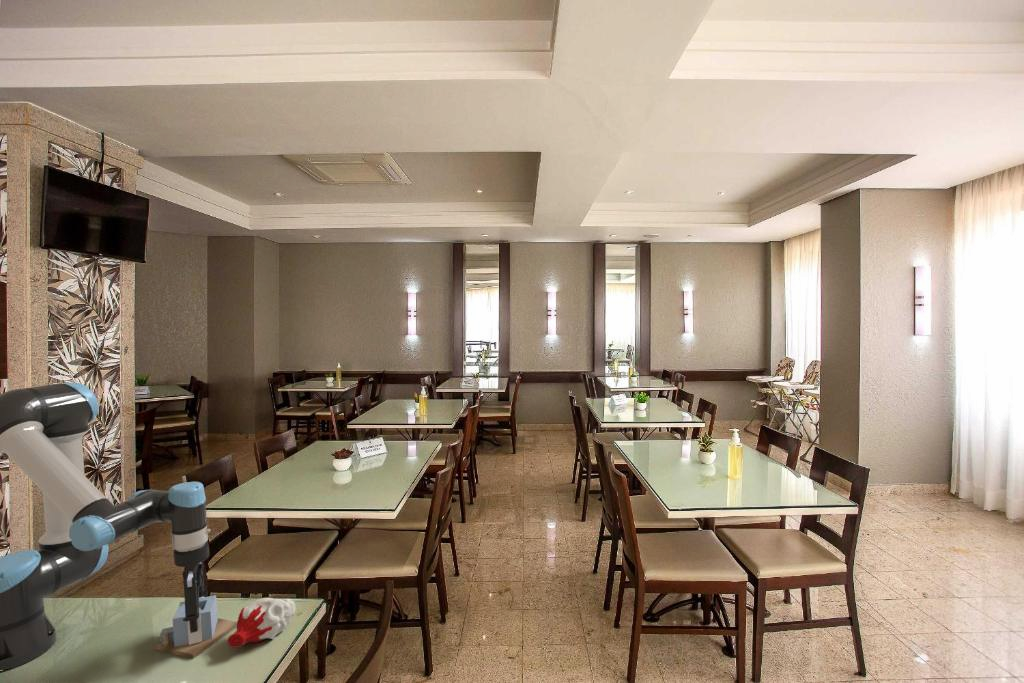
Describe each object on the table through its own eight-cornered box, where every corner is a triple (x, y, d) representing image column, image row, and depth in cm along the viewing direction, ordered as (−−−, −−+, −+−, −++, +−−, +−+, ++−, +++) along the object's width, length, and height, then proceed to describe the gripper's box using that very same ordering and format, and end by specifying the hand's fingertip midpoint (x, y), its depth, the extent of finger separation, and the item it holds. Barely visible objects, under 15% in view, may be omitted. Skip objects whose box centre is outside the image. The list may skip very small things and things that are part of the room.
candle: (300, 621, 133) (255, 666, 119) (266, 614, 137) (218, 656, 123) (295, 590, 131) (249, 632, 117) (261, 584, 135) (212, 623, 121)
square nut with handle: (217, 620, 134) (215, 595, 133) (212, 638, 126) (210, 611, 126) (166, 632, 129) (164, 605, 129) (157, 651, 122) (155, 623, 122)
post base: (153, 649, 124) (151, 621, 124) (200, 618, 137) (199, 593, 136) (193, 658, 120) (191, 630, 120) (238, 625, 133) (236, 600, 132)
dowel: (162, 646, 124) (161, 634, 124) (166, 643, 125) (166, 631, 125) (165, 647, 123) (164, 635, 123) (170, 644, 125) (169, 632, 124)
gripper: (203, 559, 119) (210, 651, 121) (212, 526, 138) (218, 606, 140) (165, 567, 116) (173, 662, 117) (179, 532, 135) (186, 614, 136)
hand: (197, 632), depth 128 cm, fingers open, 8 cm apart
